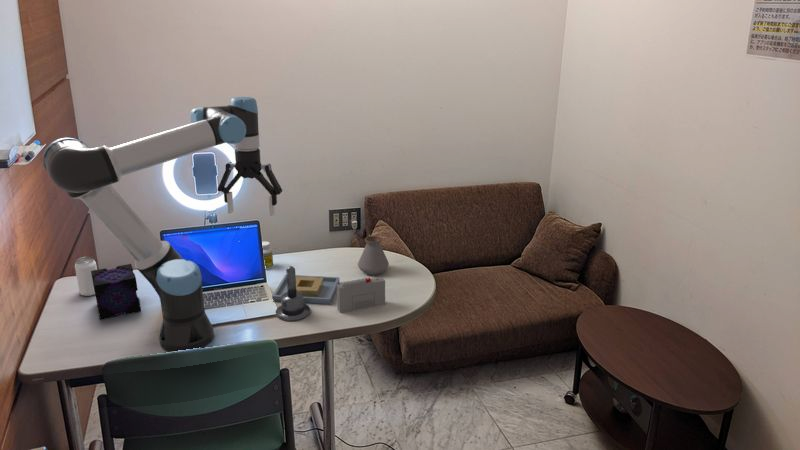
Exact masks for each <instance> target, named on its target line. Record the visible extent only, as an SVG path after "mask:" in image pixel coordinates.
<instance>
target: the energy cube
mask: <svg viewBox="0 0 800 450" xmlns="http://www.w3.org/2000/svg"><path fill="white" fill-rule="evenodd" d="M91 274H92V280H93V286H94V291H95V300H96V304H97V312H98V317H99V320H100V321H102V320H107V319H111V318H116V316H117V315H121V314H125V315H131V314H134V313H138V312H142V310H141V302H140V298H139V296H138V294H137V292H138V284H137V283H138V282H137V277H136V274H135V272H134V269H133V266H132V263H128V264H121V265H118V266H116V267H115V268H110V269H107V268H106V267H105V268H100V269H97V270H93V271H91Z"/></svg>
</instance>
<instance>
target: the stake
mask: <svg viewBox="0 0 800 450" xmlns="http://www.w3.org/2000/svg"><path fill="white" fill-rule="evenodd" d="M285 271H286V274H285V275H287V292H286V293H284V294H282V296H281V302H280V303H281V305H279V306H278V307H277V308H276V309H275V317H276V318H277V319H279V320H281V321H284V322H298V321H302V320H304V319H306V318H308V317H309V315H310V314H311V308H310V306H309V304H307V303H304V299H303V294H302V293H301V292H298V291H296V275H297V274H296V268H295V267H294V266H293V265H290V266H288V267H286V269H285Z"/></svg>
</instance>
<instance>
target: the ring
mask: <svg viewBox="0 0 800 450" xmlns="http://www.w3.org/2000/svg"><path fill="white" fill-rule="evenodd" d="M323 286H324V280H323V278H315V277H296V291H298V292H301V293H302V294H303V297H319V295H320V293H321V290H322V288H323Z"/></svg>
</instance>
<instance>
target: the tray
mask: <svg viewBox="0 0 800 450" xmlns="http://www.w3.org/2000/svg"><path fill="white" fill-rule="evenodd" d="M296 277H315V278H323V280H324V286H323V288H322V290H321V293H320V295H319V297H303V299H304V304H311V305H313V304H314V305H329V306H330V305H332V304H331V303H332V302H333V299H334V296H335V294H336V293H337V285H338V284H340V277H339V276H322V275H321V276H319V275H317V276H316V275H303V274H302V275H301V274H296ZM286 292H287V275H286V274H284V276H283V278H282V280H281V281H280V282H279V284H278V285H277V287H276V289H275V290H274V292H273V294H272V295H271V298H272V299H273V300H274V301H275V302H277V303H281V296H282V294H284V293H286ZM272 299H271V300H272ZM274 301H273V302H274Z"/></svg>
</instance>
